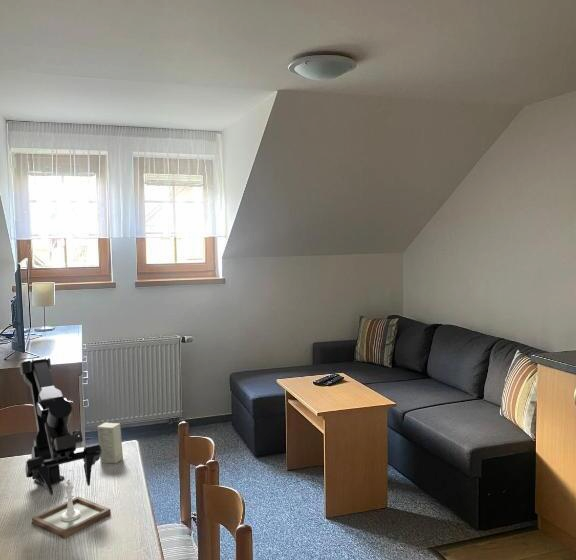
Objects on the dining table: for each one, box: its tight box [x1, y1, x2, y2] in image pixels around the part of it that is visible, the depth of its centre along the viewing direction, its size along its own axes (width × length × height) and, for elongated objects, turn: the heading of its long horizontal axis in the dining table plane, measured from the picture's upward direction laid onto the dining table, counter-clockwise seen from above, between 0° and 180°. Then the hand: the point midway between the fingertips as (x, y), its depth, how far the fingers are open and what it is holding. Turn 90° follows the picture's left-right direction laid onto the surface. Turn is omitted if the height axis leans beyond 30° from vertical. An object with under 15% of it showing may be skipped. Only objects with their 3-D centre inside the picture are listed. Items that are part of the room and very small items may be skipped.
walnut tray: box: [31, 496, 112, 540], centre depth 152 cm, size 14×14×2 cm
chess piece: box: [61, 479, 81, 521], centre depth 152 cm, size 5×5×10 cm
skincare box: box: [96, 422, 124, 464], centre depth 190 cm, size 6×4×12 cm
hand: (70, 489), depth 150 cm, fingers open, 9 cm apart
